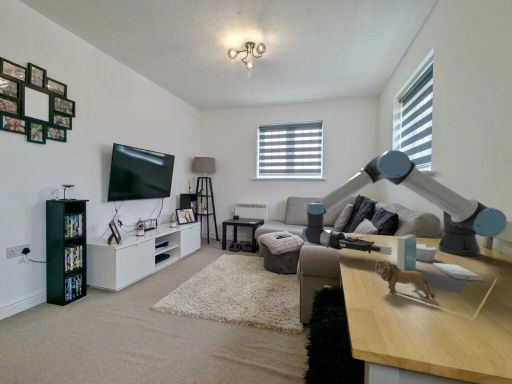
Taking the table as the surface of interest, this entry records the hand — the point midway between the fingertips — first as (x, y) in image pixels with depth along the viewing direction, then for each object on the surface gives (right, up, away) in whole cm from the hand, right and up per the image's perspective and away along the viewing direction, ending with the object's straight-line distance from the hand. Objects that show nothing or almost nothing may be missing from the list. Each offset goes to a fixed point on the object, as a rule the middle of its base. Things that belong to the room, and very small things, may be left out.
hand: (390, 251), depth 86 cm
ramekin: (+21, -7, +15) cm, 27 cm away
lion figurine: (-8, -7, -19) cm, 22 cm away
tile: (+3, -7, -4) cm, 8 cm away
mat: (+7, -7, -8) cm, 12 cm away
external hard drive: (+20, -7, -4) cm, 22 cm away
